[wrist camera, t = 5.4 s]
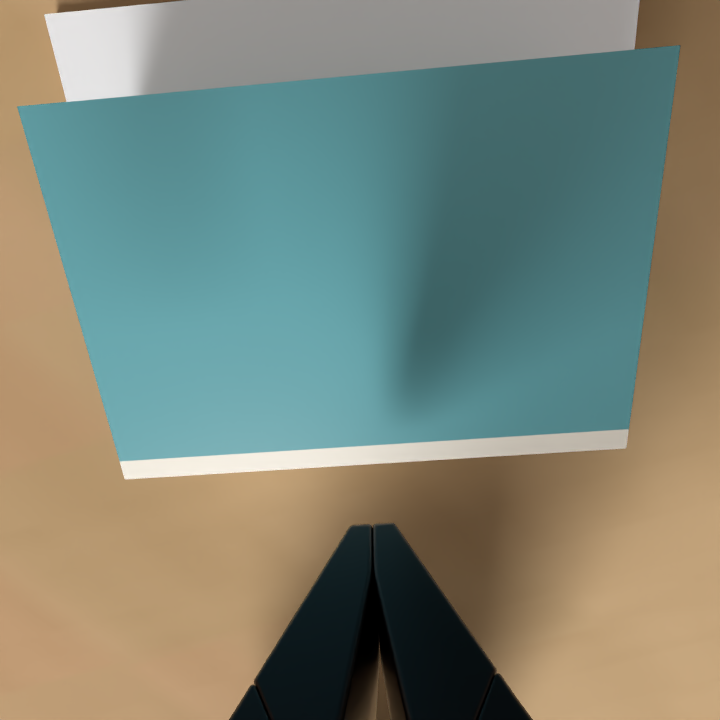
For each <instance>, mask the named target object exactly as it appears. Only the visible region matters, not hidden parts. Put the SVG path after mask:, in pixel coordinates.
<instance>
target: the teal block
mask: <svg viewBox="0 0 720 720" xmlns="http://www.w3.org/2000/svg"><path fill="white" fill-rule="evenodd" d="M679 52H680V45H678V46H667V47H656V48H645V49H634V50H624V51H613V52H602V53H591V54H580V55H569V56H559V57H548V58H537V59H526V60H515V61H505V62H494V63H483V64H472V65H461V66H450V67H440V68H429V69H418V70H407V71H396V72H386V73H375V74H364V75H353V76H342V77H332V78H321V79H310V80H299V81H288V82H277V83H267V84H256V85H245V86H234V87H223V88H213V89H202V90H191V91H180V92H169V93H159V94H148V95H137V96H126V97H115V98H104V99H94V100H83V101H72V102H61V103H50V104H40V105H29V106H18V107H17V108H18V111H19V114H20V118H21V121H22V125H23V128H24V132H25V135H26V139H27V142H28V146H29V149H30V152H31V156H32V159H33V163H34V166H35V170H36V173H37V177H38V180H39V184H40V187H41V191H42V194H43V197H44V201H45V204H46V208H47V211H48V215H49V218H50V222H51V225H52V229H53V232H54V236H55V239H56V242H57V246H58V249H59V253H60V256H61V260H62V263H63V267H64V270H65V274H66V277H67V281H68V284H69V287H70V291H71V294H72V298H73V301H74V305H75V308H76V312H77V315H78V319H79V322H80V326H81V329H82V332H83V336H84V339H85V343H86V346H87V350H88V353H89V357H90V360H91V364H92V367H93V371H94V374H95V377H96V381H97V384H98V388H99V391H100V395H101V398H102V402H103V405H104V409H105V412H106V416H107V419H108V422H109V426H110V429H111V433H112V436H113V440H114V443H115V447H116V450H117V454H118V457H119V461H120V464H121V467H122V471H123V474H124V478H125V479H139V478H155V477H171V476H187V475H204V474H220V473H236V472H252V471H268V470H284V469H300V468H317V467H333V466H349V465H365V464H381V463H397V462H414V461H430V460H446V459H462V458H478V457H494V456H511V455H527V454H543V453H559V452H575V451H591V450H607V449H624V448H626V446H627V439H628V431H629V424H630V416H631V409H632V402H633V394H634V387H635V379H636V372H637V364H638V357H639V350H640V342H641V335H642V327H643V320H644V312H645V305H646V297H647V290H648V283H649V275H650V268H651V260H652V253H653V245H654V238H655V231H656V223H657V216H658V208H659V201H660V193H661V186H662V179H663V171H664V164H665V156H666V149H667V141H668V134H669V126H670V119H671V112H672V104H673V97H674V89H675V82H676V74H677V67H678V60H679Z"/></svg>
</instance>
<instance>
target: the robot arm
mask: <svg viewBox="0 0 720 720" xmlns="http://www.w3.org/2000/svg"><path fill="white" fill-rule="evenodd" d="M379 643H380V654H379ZM380 655H381V663H382V671H383V677H384V684H385V690H386V697H387V703H388V709H389V716H390V720H533V719H532V718H531V717H530V715H529V714H528V713H527V711H526V710H525V708H524V707H523V706H522V704H521V703H520V702H519V700H518V699H517V698H516V696H515V695H514V693H513V692H512V690H511V689H510V688H509V686H508V685H507V683H506V682H505V680H504V679H503V678H502V676H501V675H500V674H497V670H496V668H495V666H494V665H493V664H492V662H491V661H490V659H489V658H488V656H487V655H486V654H485V652H484V651H483V649H482V648H481V646H480V645H479V644H478V642H477V641H476V639H475V638H474V636H473V635H472V634H471V632H470V631H469V629H468V628H467V626H466V625H465V624H464V622H463V621H462V619H461V618H460V616H459V615H458V613H457V612H456V611H455V609H454V608H453V606H452V605H451V603H450V602H449V601H448V599H447V598H446V596H445V595H444V593H443V592H442V591H441V589H440V588H439V586H438V585H437V583H436V582H435V581H434V579H433V578H432V576H431V575H430V573H429V572H428V571H427V569H426V568H425V566H424V565H423V563H422V562H421V560H420V559H419V558H418V556H417V555H416V553H415V552H414V550H413V549H412V548H411V546H410V545H409V543H408V542H407V540H406V539H405V538H404V536H403V535H402V533H401V532H400V530H399V529H398V528H397V526H396V525H395V524H394V523H377V524H374V525H373V528H372V526H371V525H370V524H360V525H352V526H350V527H349V529H348V530H347V532H346V533H345V535H344V537H343V538H342V540H341V542H340V543H339V545H338V546H337V548H336V550H335V551H334V553H333V554H332V556H331V558H330V559H329V561H328V562H327V564H326V566H325V567H324V569H323V570H322V572H321V574H320V575H319V577H318V578H317V580H316V582H315V583H314V585H313V586H312V588H311V590H310V591H309V593H308V594H307V596H306V598H305V599H304V601H303V603H302V604H301V606H300V607H299V609H298V611H297V612H296V614H295V615H294V617H293V619H292V620H291V622H290V623H289V625H288V627H287V628H286V630H285V631H284V633H283V635H282V636H281V638H280V639H279V641H278V643H277V644H276V646H275V647H274V649H273V651H272V652H271V654H270V655H269V657H268V659H267V660H266V662H265V663H264V665H263V667H262V668H261V670H260V672H259V673H258V675H257V676H256V678H255V680H254V685H251V686H250V687H249V689H248V690H247V692H246V694H245V695H244V697H243V698H242V700H241V702H240V703H239V705H238V706H237V708H236V710H235V711H234V713H233V714H232V716H231V717H230V719H229V720H376V713H377V697H378V681H379V659H380Z"/></svg>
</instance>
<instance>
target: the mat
mask: <svg viewBox="0 0 720 720" xmlns="http://www.w3.org/2000/svg"><path fill="white" fill-rule="evenodd" d="M639 2H640V0H183V1H173V2H163V3H153V4H143V5H133V6H123V7H113V8H103V9H93V10H83V11H73V12H63V13H53V14H44V15H45V19H46V23H47V27H48V31H49V35H50V39H51V43H52V46H53V50H54V54H55V58H56V62H57V66H58V70H59V74H60V78H61V82H62V85H63V89H64V93H65V97H66V101H67V102H72V101H83V100H94V99H104V98H115V97H126V96H137V95H148V94H159V93H169V92H180V91H191V90H202V89H213V88H223V87H234V86H245V85H256V84H267V83H277V82H288V81H299V80H310V79H321V78H332V77H342V76H353V75H364V74H375V73H386V72H396V71H407V70H418V69H429V68H440V67H450V66H461V65H472V64H483V63H494V62H505V61H515V60H526V59H537V58H548V57H559V56H569V55H580V54H591V53H602V52H613V51H624V50H634V49H635V39H636V30H637V20H638V11H639Z"/></svg>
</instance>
